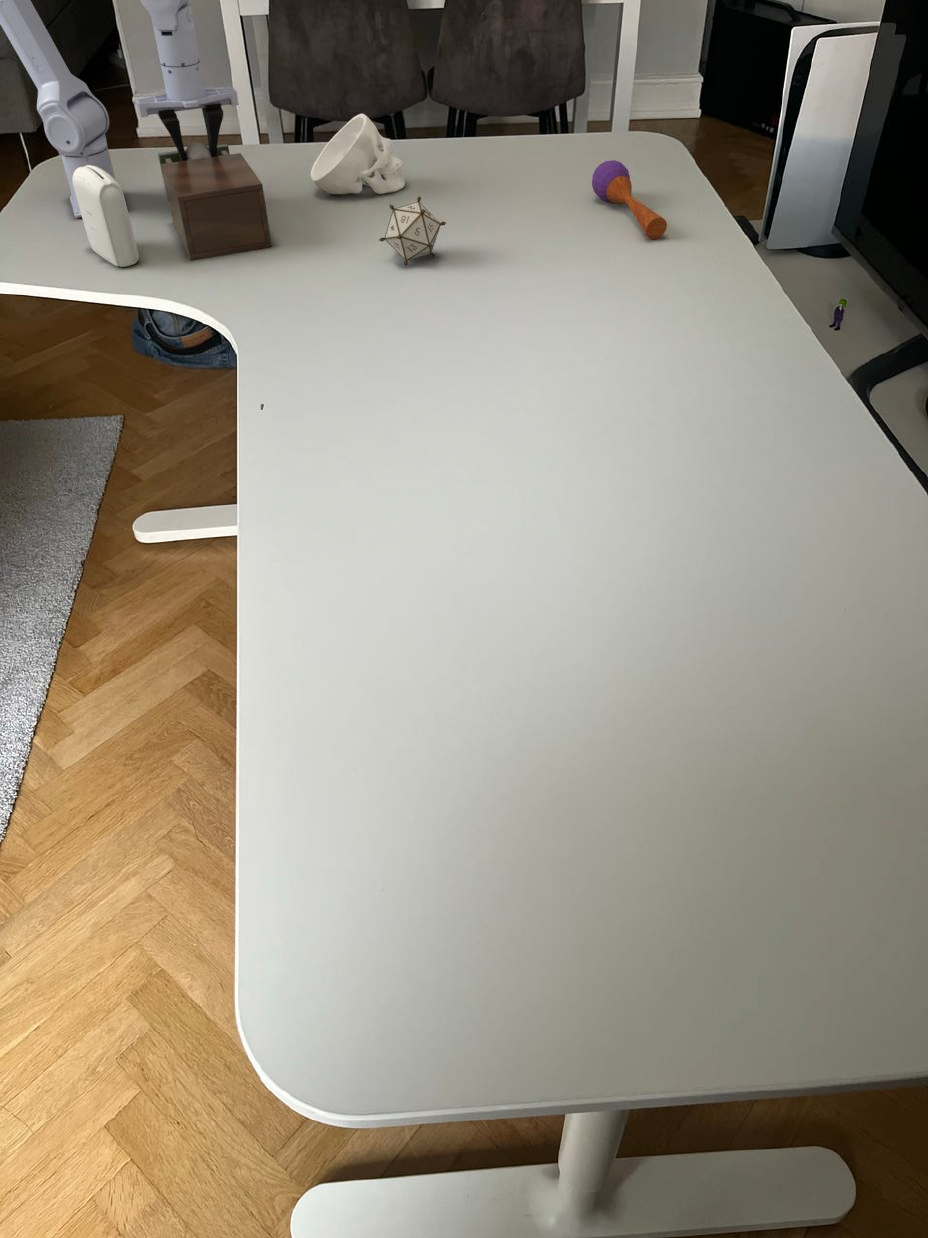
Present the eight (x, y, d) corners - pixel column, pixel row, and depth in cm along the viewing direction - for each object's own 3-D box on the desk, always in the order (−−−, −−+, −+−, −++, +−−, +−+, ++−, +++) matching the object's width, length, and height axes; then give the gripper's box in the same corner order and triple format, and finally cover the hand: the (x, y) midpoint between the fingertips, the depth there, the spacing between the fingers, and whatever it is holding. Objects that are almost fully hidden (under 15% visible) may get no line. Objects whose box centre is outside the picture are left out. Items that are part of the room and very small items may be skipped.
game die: (403, 286, 145) (357, 235, 139) (424, 245, 149) (379, 193, 143) (445, 269, 139) (399, 215, 133) (466, 227, 142) (422, 172, 137)
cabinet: (173, 224, 155) (160, 163, 148) (250, 212, 158) (240, 152, 152) (190, 260, 145) (177, 196, 138) (271, 246, 148) (262, 183, 142)
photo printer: (87, 249, 148) (63, 162, 140) (114, 241, 150) (91, 155, 142) (116, 270, 142) (93, 181, 134) (144, 262, 144) (123, 174, 136)
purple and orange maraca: (636, 215, 144) (584, 160, 157) (638, 252, 148) (587, 196, 161) (674, 202, 144) (619, 149, 157) (675, 240, 149) (621, 185, 162)
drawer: (163, 191, 163) (153, 144, 158) (229, 181, 166) (221, 135, 161) (182, 230, 151) (171, 180, 146) (253, 219, 153) (245, 170, 148)
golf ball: (184, 173, 153) (178, 146, 150) (193, 164, 156) (188, 137, 153) (208, 174, 152) (203, 147, 149) (217, 165, 155) (212, 138, 152)
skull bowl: (421, 185, 161) (376, 120, 153) (353, 238, 165) (305, 178, 157) (409, 163, 169) (366, 100, 161) (344, 215, 172) (299, 156, 164)
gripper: (133, 74, 139) (155, 175, 148) (235, 62, 143) (251, 161, 152) (126, 62, 144) (148, 160, 153) (225, 51, 148) (241, 147, 157)
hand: (198, 160), depth 153 cm, fingers closed on golf ball, 4 cm apart
